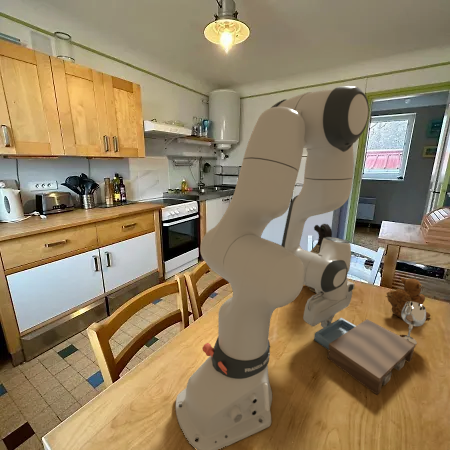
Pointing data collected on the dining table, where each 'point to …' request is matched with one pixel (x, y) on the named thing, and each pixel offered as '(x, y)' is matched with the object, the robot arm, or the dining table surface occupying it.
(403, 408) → the dining table surface
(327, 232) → the ceramic jug
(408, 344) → the wooden drawer box
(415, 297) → the stuffed squirrel
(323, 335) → the tray
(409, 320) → the wineglass
